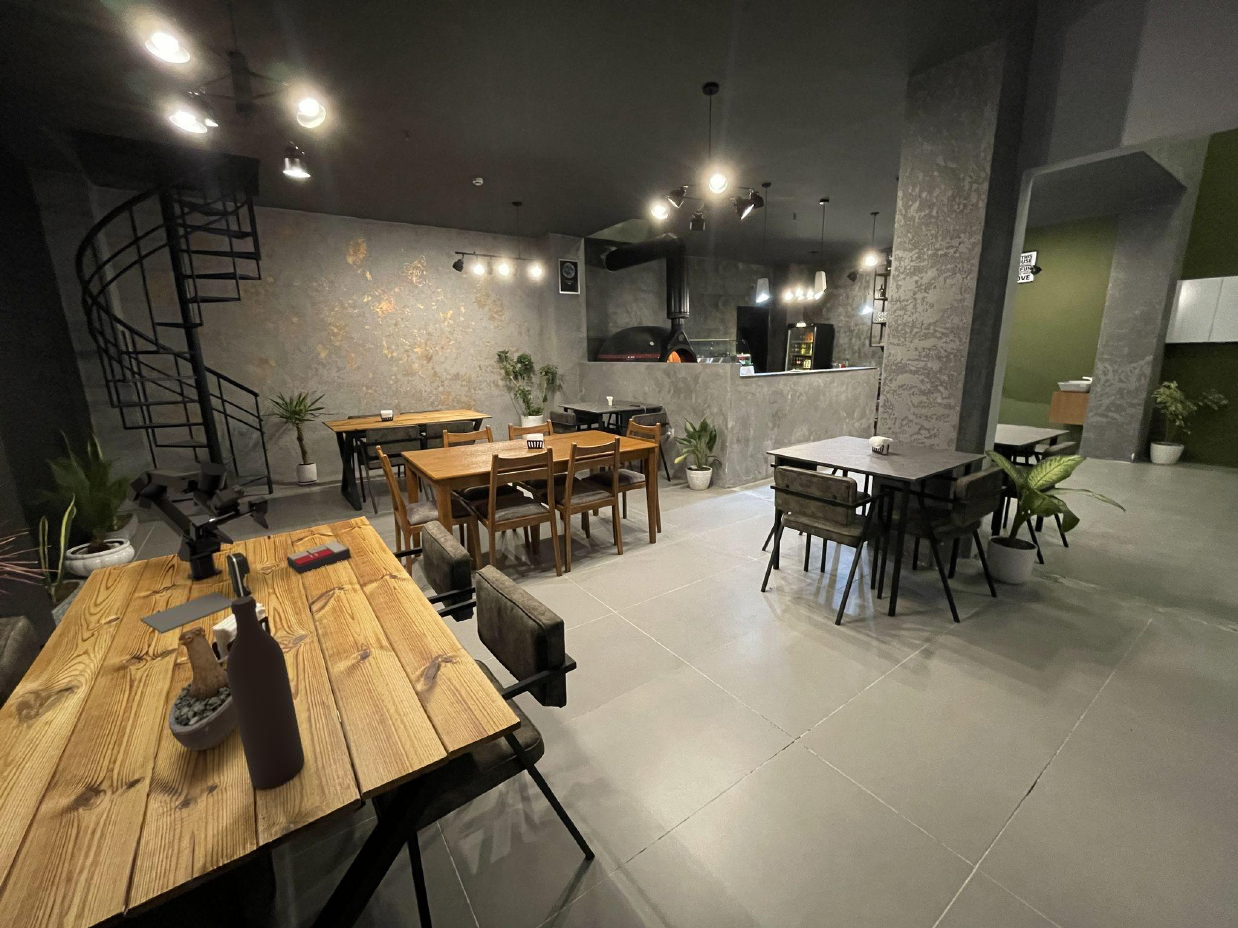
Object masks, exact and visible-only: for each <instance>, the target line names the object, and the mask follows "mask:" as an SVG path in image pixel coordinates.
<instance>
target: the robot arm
mask: <svg viewBox="0 0 1238 928" xmlns="http://www.w3.org/2000/svg"><path fill="white" fill-rule="evenodd" d="M199 467H200V469H199V471H190V472H179V471H175V470H169V469H165V468H161V467H159V468H153V469H148V470H146V469H145V470H144V471H142V472H140V474H139V477H136V479H135V480H133V481H132V482H130V483H129V484H128V487H127V489H126V491H125V495H126V498H127V500H128V501H129V502H131V503H132V504H134V505H135V506H137V507H138V508H141V509H146V510H150V511H151V512H153V513H154V514H155V515H156V516H157V517H158V518H159V519H160V521H161V520H162V522H163V523H165V525H167V526H168V527H169V528H170V529H171V530H172V531H173V533H175V534H176V535H177V536H178V537H180V544H179V545H180V547H179V549H178V552H177V553H176V554H177V557H178V560H179V561H181V562H185V563H188V564H189V568H190V574H187V578H189V579H191V580H194V581H195V582H198V581H201V580H204V579H207V578H210V577H213V576H216V575H219V574H222V573H223V571H222V570H221V569H218V568H217V566H216V562H215V558H214V554H217V553H220V552H222V551H221V550H222V549H221V548H222V546H221V545H222V544H226V545H227V544H228V545H230V546H231V545H234V540H232V538H231V537H230V536H228V534H226V533H225V532H223V531H222V530H221V529H220V528H219V526H223V525H225V524H229V523H231V522H234V521H236V520H239V519H242V518H244V517H245V516H249V517H251V518H253V521H255V522H256V524H258V525H259V526H261V527H262V528H263V529H265V530H269V525H268V522H267V519H266V517H265V516H266V515H267V513H268V510H269V509H268V508H269V507H268V505H269V499H268V498H266V497H265V496H264V495H261V496H258V497H257V496H256V497H254V498H252V499H250V500H247V506H246V507H243V508H241V509H240V508H239V507H240V505H241V503H240V502H239V500H240V498H242V497H243V496H245V490H244V489H243V487H242V486H240V485H239V484H236V485H232V486H231V487H229V488H227V489H224V490H221V489H223V488H224V484H225V480H226V475H227V470H228V469H227V467H226V466H225V465H224V464H219V463H216V462H211V461H209V460H207V461H202V462H200V466H199ZM169 488H173V491H174V493H177V494H179V495H182V496H187V495H192V499H193V501H192V505H193V507H194V508H195V507H202V509H203V510H205V511H206V514H207V516H204V517H201V518H199V519H196V520H192V519H191V518H189V516H187V515H186V514H185V513H184V512H183V511H182V510H181V509H180V508H179V507H177V506H176V504H174V503H173V502H172V501H171V500H170V499H169V498H168V492H169V491H168V490H169ZM220 490H221V491H220ZM210 518H212V519H210Z"/></svg>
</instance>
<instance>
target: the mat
mask: <svg viewBox="0 0 1238 928" xmlns="http://www.w3.org/2000/svg"><path fill="white" fill-rule="evenodd" d="M234 600H235V599H232V598H230V597H228V596H225V595H223V594H221V593H219V592H218V591H214V592H211V593H208V594H206V595H202V596H199V597H196V598H194V599H191V600H189V601H185V602H183V603H181V604H177V605H175V606H172V607H168V608H167V609H164V610H161V611H158V612H155V613H153V614H149V615H147V616H145V617H141V618H140V621H141V622H143V623H144V624H146V625H148V626H149V627H151V628H153V629H154V630H156V631H157V632H159V633H161V634H164V633H167V632H170V631H172V630H175V629H177V628H180V627H182V626H185V625H188V624H190V623H193V622H195V621H198V620H201V619H203V618H206V617H208V616H211V615H214V614H216V613H219V612H222V611H224V610H227V609H228V608H231V605H232V602H233V601H234Z"/></svg>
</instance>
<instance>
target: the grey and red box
mask: <svg viewBox="0 0 1238 928" xmlns="http://www.w3.org/2000/svg"><path fill="white" fill-rule="evenodd" d="M349 558H351V559H352V556H351V551H350V548H348V547H347V546H345V544H342V543H341V542H339V541H336V540H334V541H331V542H328V543H324V544H320V545H318V546H317V545H316V546H313V547H311V548H308V549H306V550H302V551H299V552H295V553H293V554H288V556H287V557H286V560H287V561H286V562H287V565H288V566H289V567H290V568H292V570H294V572H296V573H297V574H298V575H302V574H305V573H304V572H306V573H308V572H307V571H309V572H311V570H312V569H315V570H318V569H321V568H320V567H322V566H325V565H328V564H330V565H333V564H336V563H335V562H337V561H341V560H344V561H347V560H346V559H348V560H350V559H349ZM341 562H342V561H341ZM332 563H333V564H332ZM328 566H329V565H328ZM325 567H326V566H325ZM317 568H318V569H317ZM322 568H323V567H322ZM312 571H313V570H312Z"/></svg>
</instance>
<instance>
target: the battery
mask: <svg viewBox="0 0 1238 928" xmlns="http://www.w3.org/2000/svg"><path fill="white" fill-rule="evenodd" d="M225 558H226V562H227V563H226V564H227V568H228V573H229V577H230V581H231V586H232V590H233V592H234V593H235V595H236V596H237V597H238V598H241V597H245V596H250V594H252V591H251V589H250V587H249V586H248V585H245V583H244V579H245V577H246V575H248V574H250V573H251V569H250V565H249V561H248V559H247V557H246V556H245V555H244V554H243V553H242V552H235V553H229V554H227V555H226V557H225Z"/></svg>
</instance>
